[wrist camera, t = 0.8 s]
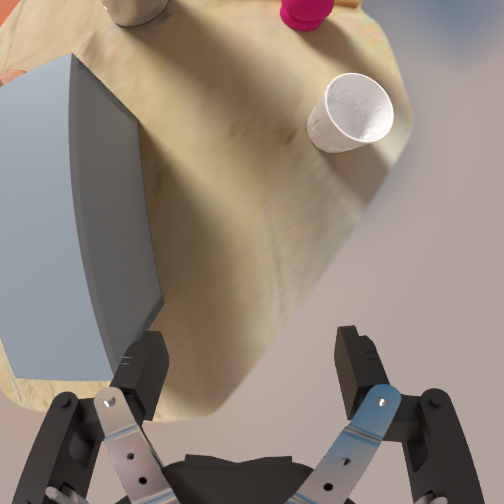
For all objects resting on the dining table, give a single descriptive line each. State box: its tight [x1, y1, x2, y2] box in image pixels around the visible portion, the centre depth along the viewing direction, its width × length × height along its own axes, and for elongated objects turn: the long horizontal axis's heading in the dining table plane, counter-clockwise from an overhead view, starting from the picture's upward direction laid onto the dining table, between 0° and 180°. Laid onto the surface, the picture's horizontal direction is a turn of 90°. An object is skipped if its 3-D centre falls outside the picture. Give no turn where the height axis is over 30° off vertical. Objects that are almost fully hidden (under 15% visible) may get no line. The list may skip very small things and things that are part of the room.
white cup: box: [306, 73, 394, 153], centre depth 32 cm, size 8×8×10 cm
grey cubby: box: [0, 53, 164, 381], centre depth 26 cm, size 11×24×19 cm, turn 8°
